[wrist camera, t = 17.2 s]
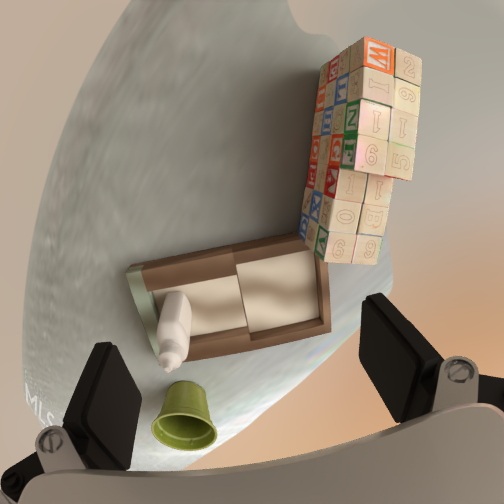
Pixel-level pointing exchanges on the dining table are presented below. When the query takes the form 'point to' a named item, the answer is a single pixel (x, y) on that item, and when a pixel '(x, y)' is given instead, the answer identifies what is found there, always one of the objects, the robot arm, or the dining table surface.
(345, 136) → the stack of blocks
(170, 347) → the eye dropper bottle
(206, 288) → the divided wooden tray
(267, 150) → the dining table surface
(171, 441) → the plant pot
